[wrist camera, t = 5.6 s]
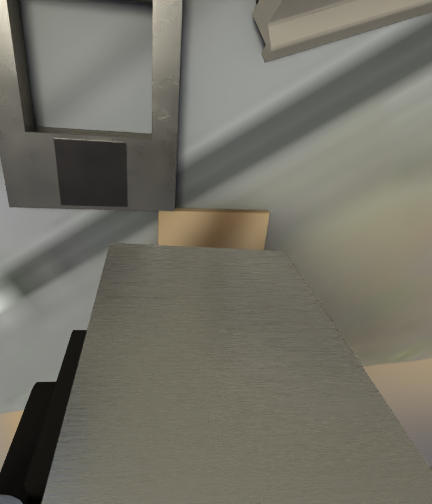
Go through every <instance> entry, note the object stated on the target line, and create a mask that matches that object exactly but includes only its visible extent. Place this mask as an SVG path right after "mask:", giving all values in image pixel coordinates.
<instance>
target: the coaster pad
mask: <svg viewBox="0 0 432 504" xmlns="http://www.w3.org/2000/svg"><path fill="white" fill-rule="evenodd" d="M269 215H270V213H269V212H268V211H266V210H229V209H192V208H175V211H159V217H158V245H166V246H187V247H209V248H230V249H251V250H264V246H265V240H266V234H267V228H268V221H269Z"/></svg>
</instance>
